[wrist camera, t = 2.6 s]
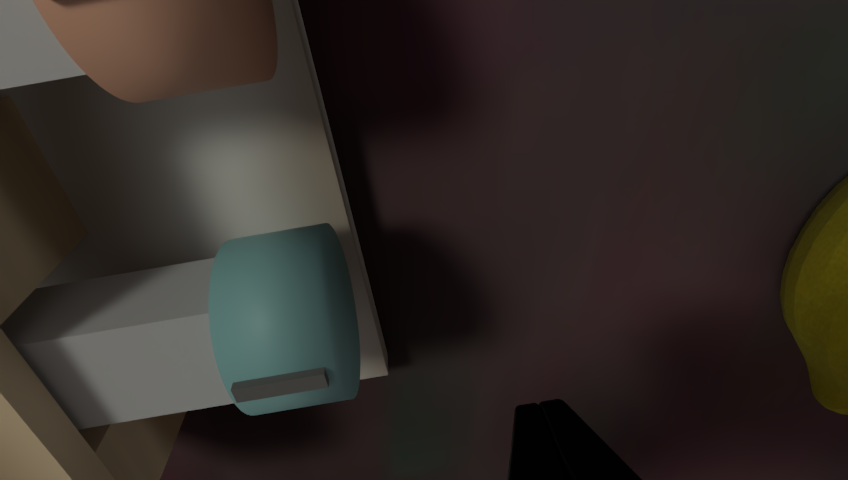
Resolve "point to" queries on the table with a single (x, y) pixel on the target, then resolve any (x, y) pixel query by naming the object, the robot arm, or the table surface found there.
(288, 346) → the teal knob
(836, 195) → the lemon
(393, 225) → the table surface
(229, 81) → the terracotta knob
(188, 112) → the mount
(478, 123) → the table surface
